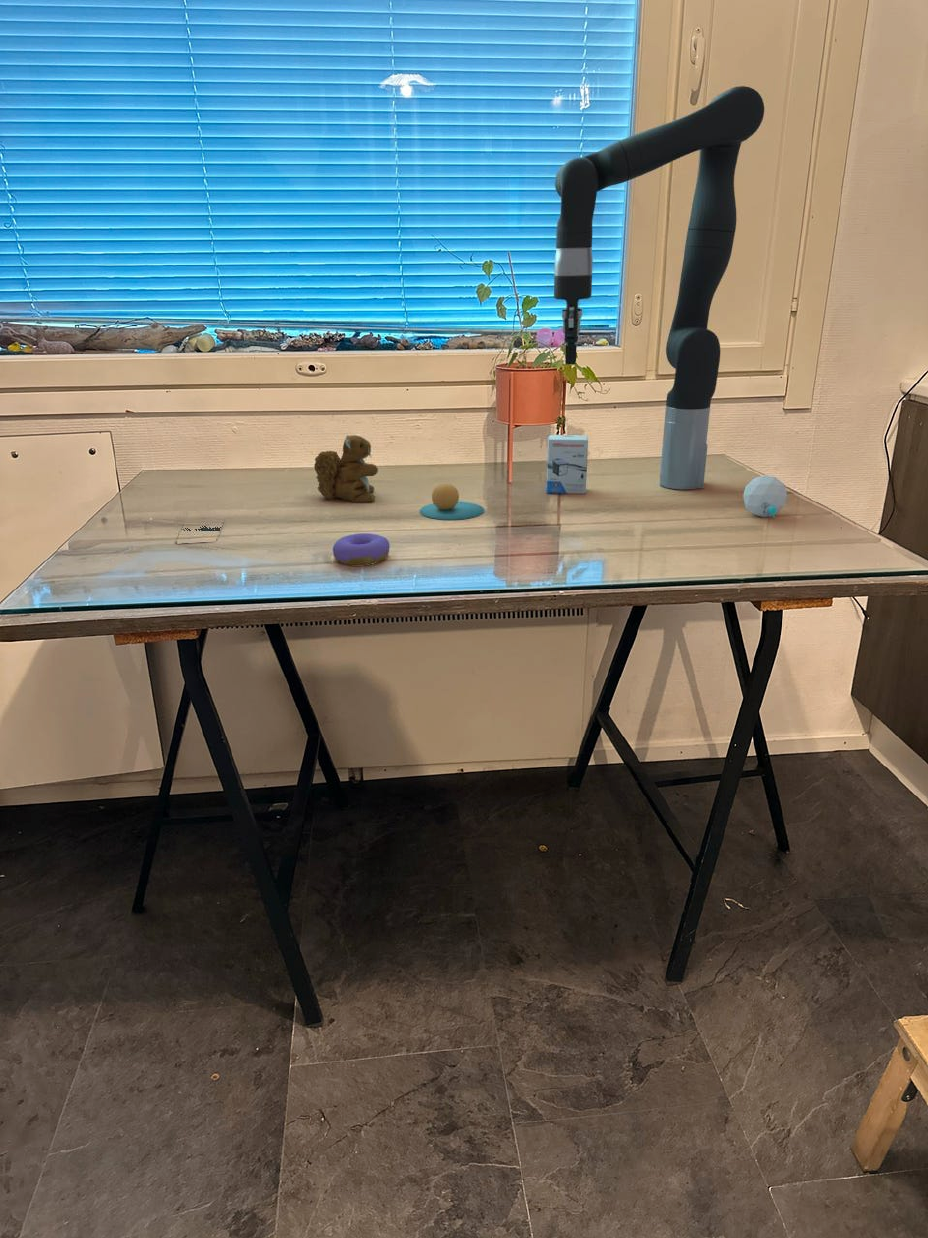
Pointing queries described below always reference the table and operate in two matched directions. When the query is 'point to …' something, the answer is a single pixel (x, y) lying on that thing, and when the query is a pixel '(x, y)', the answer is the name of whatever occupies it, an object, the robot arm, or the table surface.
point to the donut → (361, 549)
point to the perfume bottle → (765, 496)
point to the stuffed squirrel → (346, 472)
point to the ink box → (567, 464)
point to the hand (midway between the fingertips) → (570, 363)
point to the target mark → (453, 511)
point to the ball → (445, 496)
